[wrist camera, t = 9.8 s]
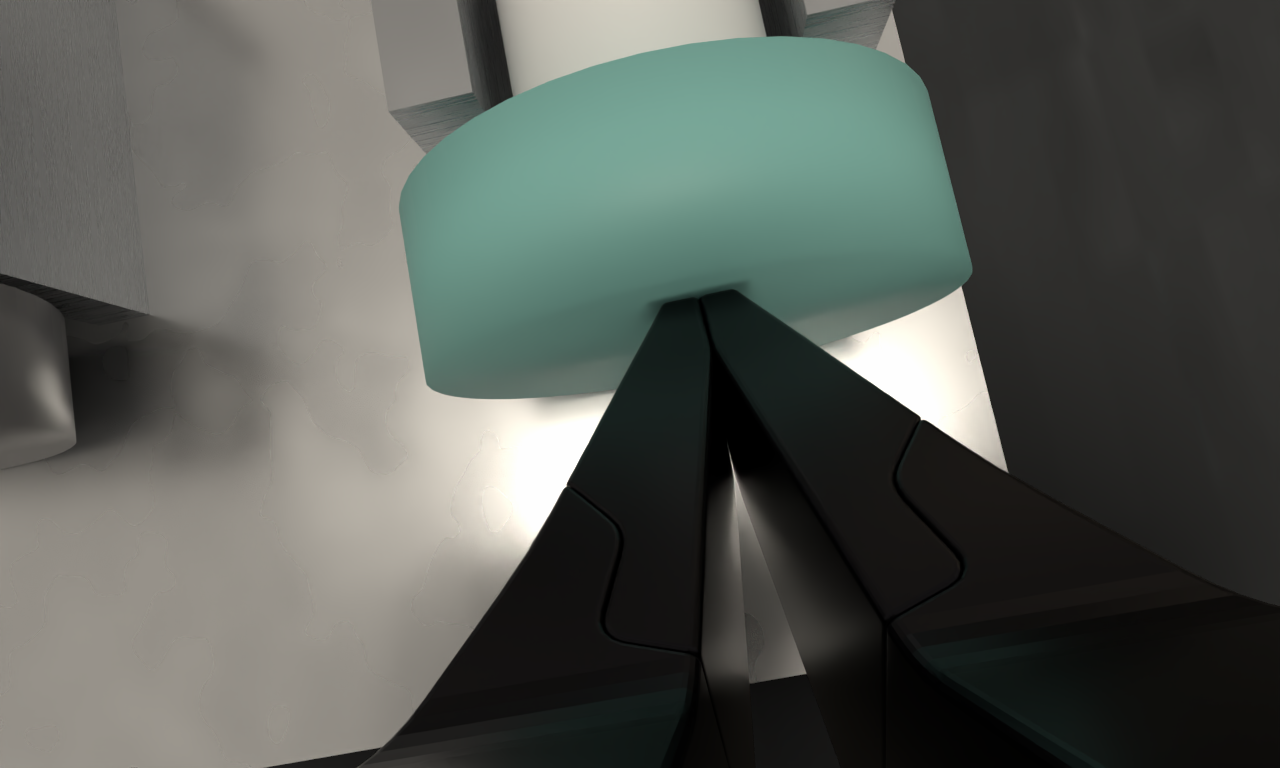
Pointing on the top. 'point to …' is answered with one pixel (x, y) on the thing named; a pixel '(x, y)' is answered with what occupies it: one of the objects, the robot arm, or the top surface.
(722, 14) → the teal knob
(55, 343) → the dark grey rounded piece
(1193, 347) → the top surface
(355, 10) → the mount
